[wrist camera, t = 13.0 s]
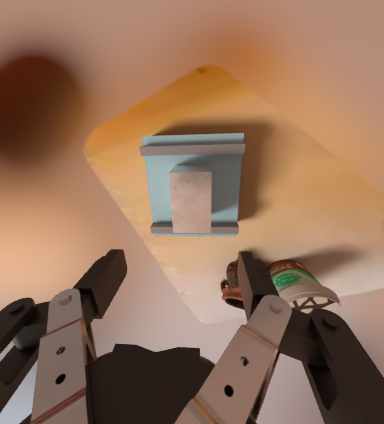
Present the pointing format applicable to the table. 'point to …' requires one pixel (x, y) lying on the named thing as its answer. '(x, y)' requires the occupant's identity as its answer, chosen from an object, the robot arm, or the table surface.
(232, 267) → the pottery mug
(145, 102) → the table surface
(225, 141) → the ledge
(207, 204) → the block
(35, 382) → the robot arm
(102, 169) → the table surface
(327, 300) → the food container
